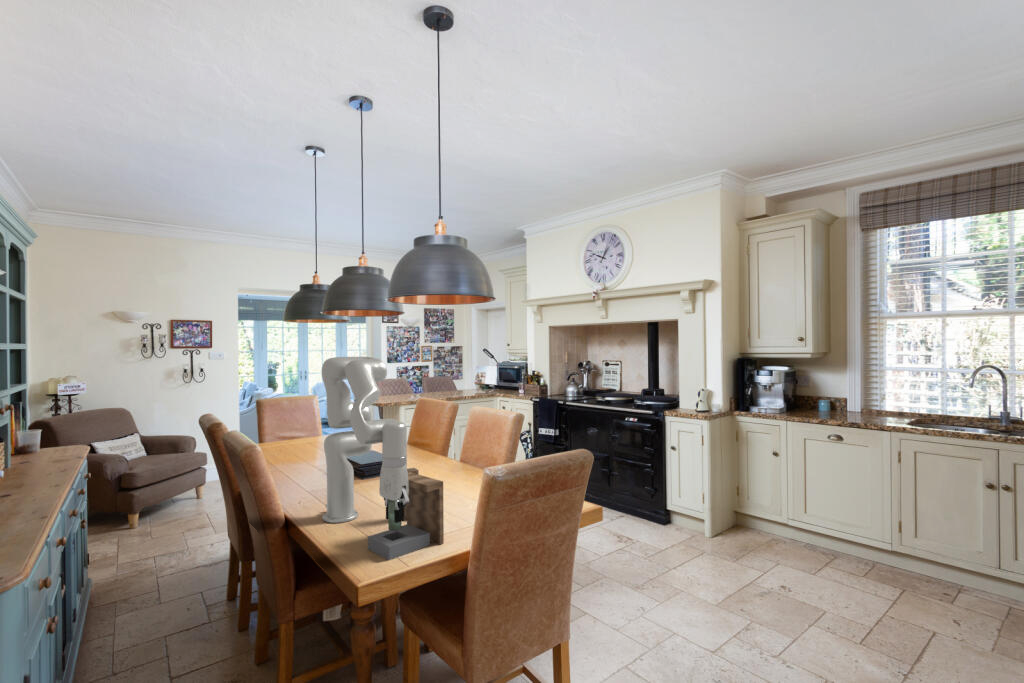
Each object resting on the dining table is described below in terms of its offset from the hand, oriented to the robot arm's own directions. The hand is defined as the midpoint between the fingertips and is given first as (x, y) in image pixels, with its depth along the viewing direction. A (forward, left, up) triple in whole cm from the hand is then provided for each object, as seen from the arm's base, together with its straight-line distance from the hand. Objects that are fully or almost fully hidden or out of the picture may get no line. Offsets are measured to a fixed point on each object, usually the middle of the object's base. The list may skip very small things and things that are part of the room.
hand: (394, 519), depth 160 cm
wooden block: (-22, +21, -9) cm, 32 cm away
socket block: (0, +2, -9) cm, 9 cm away
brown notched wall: (-1, +10, -9) cm, 13 cm away
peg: (0, 0, -3) cm, 3 cm away
